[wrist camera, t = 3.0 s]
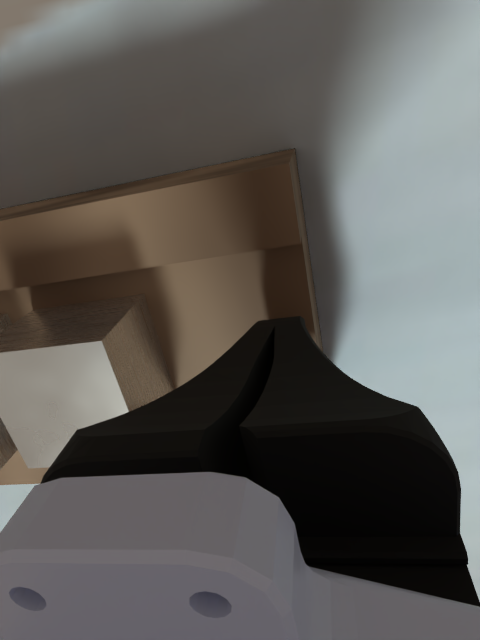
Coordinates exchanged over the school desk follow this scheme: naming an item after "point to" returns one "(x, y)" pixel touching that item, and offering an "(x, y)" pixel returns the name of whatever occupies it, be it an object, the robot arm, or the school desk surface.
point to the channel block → (168, 259)
